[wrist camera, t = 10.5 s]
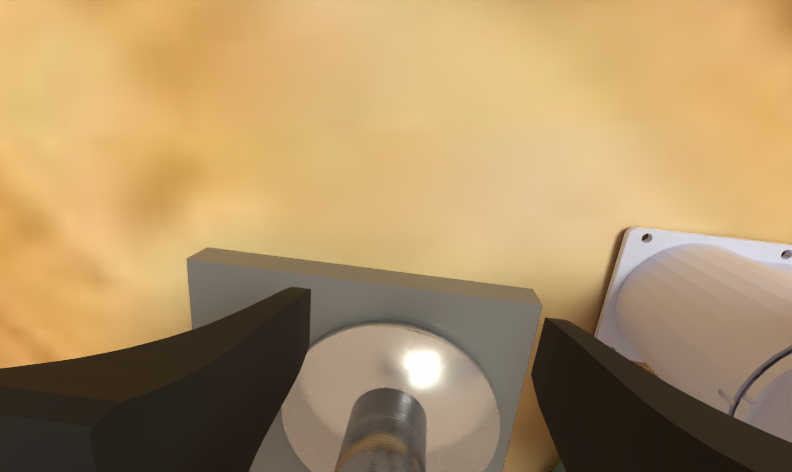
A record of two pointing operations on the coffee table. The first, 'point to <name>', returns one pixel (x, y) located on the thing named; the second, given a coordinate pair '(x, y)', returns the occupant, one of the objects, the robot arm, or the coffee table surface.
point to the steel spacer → (384, 434)
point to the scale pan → (399, 369)
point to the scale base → (376, 300)
